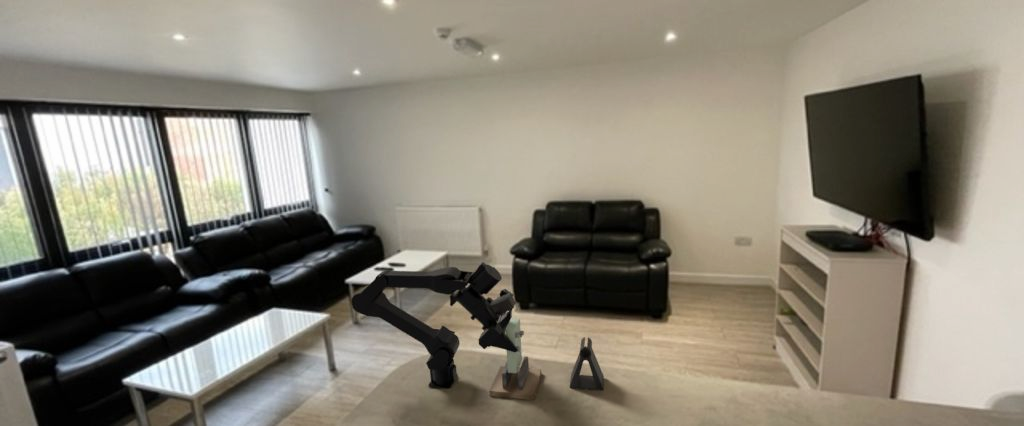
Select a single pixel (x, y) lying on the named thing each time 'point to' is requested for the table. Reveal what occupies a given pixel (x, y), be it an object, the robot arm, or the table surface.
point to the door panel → (515, 337)
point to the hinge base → (516, 382)
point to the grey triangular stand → (587, 354)
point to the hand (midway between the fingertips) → (518, 343)
